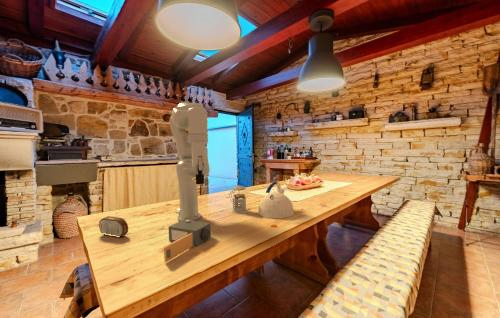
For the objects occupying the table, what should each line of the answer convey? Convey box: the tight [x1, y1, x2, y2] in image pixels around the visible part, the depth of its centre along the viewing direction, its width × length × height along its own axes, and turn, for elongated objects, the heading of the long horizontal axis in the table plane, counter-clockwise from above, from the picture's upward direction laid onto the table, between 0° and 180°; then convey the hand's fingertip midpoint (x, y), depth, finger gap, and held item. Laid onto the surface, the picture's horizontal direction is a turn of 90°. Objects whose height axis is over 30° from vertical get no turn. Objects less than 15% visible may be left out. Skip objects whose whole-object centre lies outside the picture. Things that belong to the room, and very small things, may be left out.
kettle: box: [257, 181, 295, 220], centre depth 120 cm, size 20×21×18 cm
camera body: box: [168, 219, 212, 247], centre depth 88 cm, size 15×10×7 cm, turn 66°
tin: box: [98, 216, 129, 237], centre depth 94 cm, size 15×3×8 cm, turn 71°
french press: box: [228, 169, 249, 215], centre depth 125 cm, size 10×12×25 cm
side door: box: [163, 233, 194, 263], centre depth 75 cm, size 13×1×5 cm, turn 152°
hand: (200, 183), depth 86 cm, fingers closed
